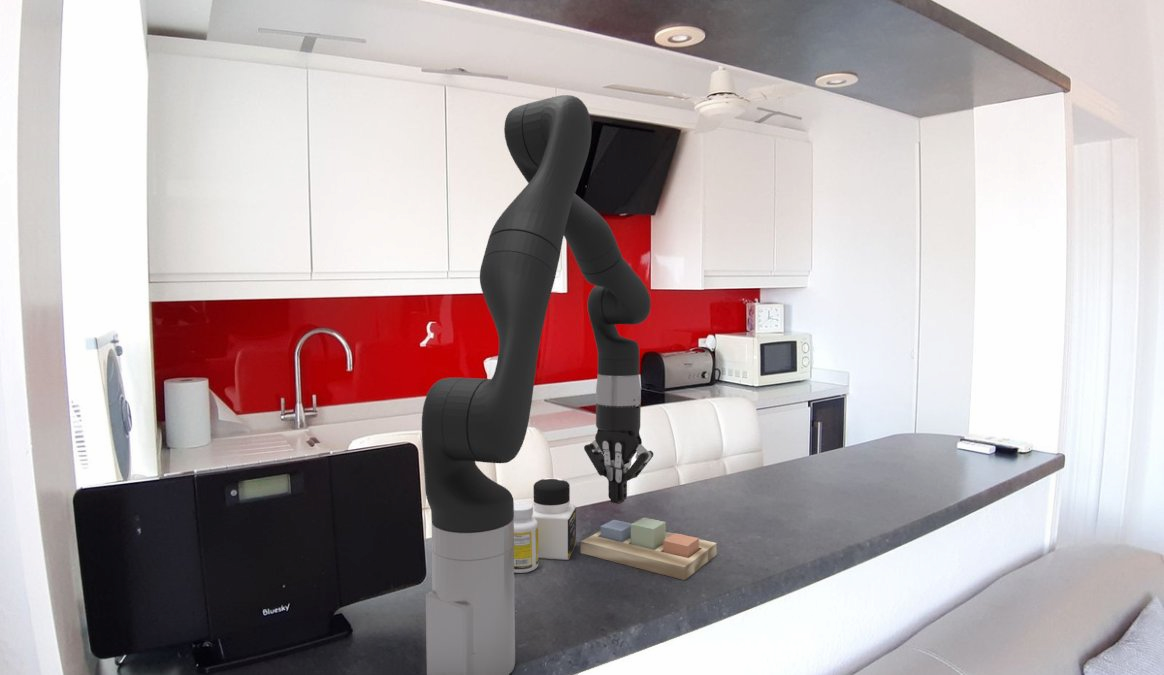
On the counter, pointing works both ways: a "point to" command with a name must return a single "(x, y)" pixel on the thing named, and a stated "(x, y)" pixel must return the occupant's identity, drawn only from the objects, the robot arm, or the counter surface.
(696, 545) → the terracotta button
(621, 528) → the slate button
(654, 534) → the sage button
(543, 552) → the medicine bottle
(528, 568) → the supplement bottle
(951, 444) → the counter surface
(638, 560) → the board
